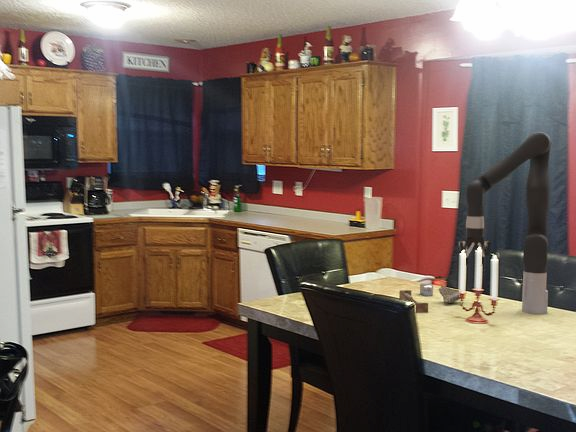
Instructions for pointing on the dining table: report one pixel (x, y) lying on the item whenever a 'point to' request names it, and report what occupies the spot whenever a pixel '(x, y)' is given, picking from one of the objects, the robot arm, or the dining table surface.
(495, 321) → the dining table surface
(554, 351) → the dining table surface
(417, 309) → the stand
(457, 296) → the rock
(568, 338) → the dining table surface
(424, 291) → the tin
